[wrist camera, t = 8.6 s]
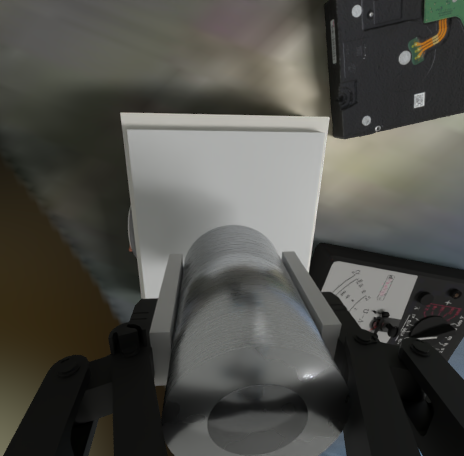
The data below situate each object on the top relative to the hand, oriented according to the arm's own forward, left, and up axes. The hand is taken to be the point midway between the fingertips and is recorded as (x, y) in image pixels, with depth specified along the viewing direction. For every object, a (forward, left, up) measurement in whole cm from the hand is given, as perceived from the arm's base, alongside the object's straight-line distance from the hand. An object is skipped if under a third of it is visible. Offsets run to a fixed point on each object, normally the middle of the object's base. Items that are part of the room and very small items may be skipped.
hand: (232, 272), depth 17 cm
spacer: (0, 0, 0) cm, 0 cm away
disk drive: (-14, +16, -11) cm, 24 cm away
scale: (0, 0, -11) cm, 11 cm away
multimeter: (+11, +18, -11) cm, 24 cm away
